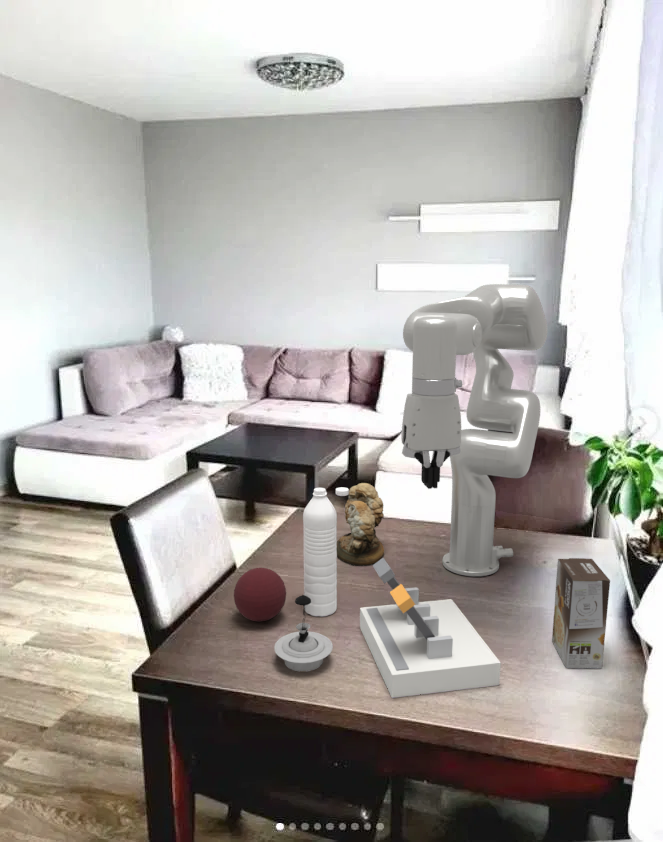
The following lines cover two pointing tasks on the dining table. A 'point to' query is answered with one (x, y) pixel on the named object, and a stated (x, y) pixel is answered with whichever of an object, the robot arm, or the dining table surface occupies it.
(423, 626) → the lever
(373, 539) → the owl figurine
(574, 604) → the coffee box
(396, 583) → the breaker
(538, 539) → the dining table surface
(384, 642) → the box
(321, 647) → the gray round rimmed fixture
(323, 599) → the water bottle
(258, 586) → the decorative ball
